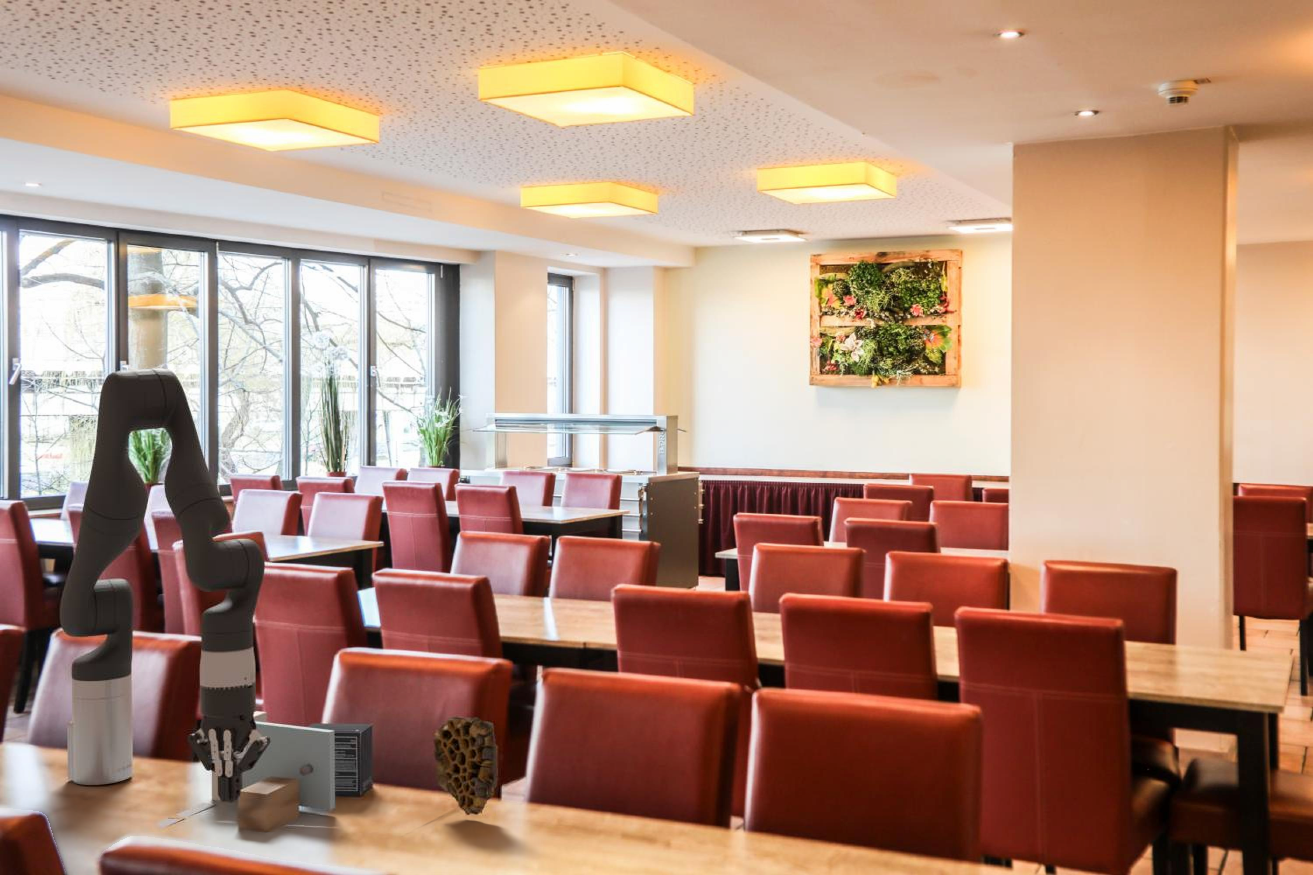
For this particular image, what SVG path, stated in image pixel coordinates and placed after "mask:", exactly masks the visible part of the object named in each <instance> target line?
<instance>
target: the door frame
mask: <svg viewBox="0 0 1313 875" xmlns="http://www.w3.org/2000/svg"><path fill="white" fill-rule="evenodd" d="M267 713H268V712H267V711H259V710H255V711H254V720H255V721H258V722H267V723H268V718H267V717H268V714H267ZM221 752H222V751H221ZM211 800H212V801H219V802H221V801H220V798H219V796H218V776H217V775H216V773H215V772H213V771H211ZM216 806H217V804H216V803H210V802H202V803H199V804H197V805H195V806H192V807H190V808H189V809H185V810H183V811H181V812H178V813H176V816H178V818H177V817H168V818H165V819H163V820H161V821H159V822H156V823H154V825H156V826H158V827H160V828H166V827H170V826H172V825H174V824H176V823H179V822H181V821H184V820H185V819H186V818H188V817H191V816H194V815H196V814H199V813H201V812H203V811H206V810H209V809H212V808H214V807H216ZM180 817H181V818H180Z"/></svg>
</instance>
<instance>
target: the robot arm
mask: <svg viewBox="0 0 1313 875" xmlns="http://www.w3.org/2000/svg"><path fill="white" fill-rule="evenodd" d="M97 411H98V412H97V414H98V415H97V423H96V435H95V436H96V437H95V445H94V446H95V447H94V452H93V459H92V464H91V470H90V475H89V478H88V485H87V488H86V492H85V496H84V501H83V505H82V512H81V518H80V525H79V531H78V537H77V541H76V547H75V549H74V550H75V552H74V555H73V559H72V562H71V566H70V569H69V572H68V575H67V578H66V580H65V584H64V588H63V591H62V596H61V599H60V606H59V619H60V620H59V621H60V622H59V623H60V626H61V629H62V630H63V632H64V633H65V635H67V636H69V637H71V638H88V637H96V636H97V637H98V636H106V638H105V640H104V641H103V642H102V643H101V644H100V645H99V646H98V647H96V648H95V649H93V650H91V651H89V652H87V653H85V654H84V655H81V656H79V657H77V658H76V659H74V660H73V662H72V663H71V720H72V721H69V722H68V723H67V727H66V730H67V731H66V732H67V733H66V734H67V780H69V781H73V783H75V784H78V785H84V786H99V785H107V784H113V783H117V782H122V781H124V780H127V779H129V778H131V777H132V776H133V773H134V772H133V770H134V769H133V766H134V765H133V691H132V690H133V688H132V687H133V686H132V685H133V680H132V679H133V678H132V677H133V676H132V675H133V673H132V669H133V668H132V662H133V649H134V648H133V639H134V638H133V637H134V619H135V600H134V593H133V588H132V586H131V584H130V583H129V581H128V580H127V579H124V578H107V579H100V577H101V575H102V574H103V573H104V571H106V569H107V568H108V567H109V566H110V565H111V564H112V563H113V562H114V561H115V560H117V558H119V557H120V556H121V555H122V554H124V552H125V551H126V550H127V549H128V548H129V547H130V546H132V544H133V543H134V541H136V539H137V538H138V536H139V535H140V533H141V531H142V529H143V525H144V521H145V516H146V513H147V508H148V503H149V492H148V489H147V488H148V487H147V485H146V483H145V481H144V479H143V478H142V476H141V473H139V471H138V469H137V468H136V466H135V465H134V463H133V462H132V461H131V459H130V456H129V454H128V447H127V446H128V442H129V441H128V440H129V437H130V435H131V433H132V432H136V431H137V432H138V431H145V430H147V431H148V430H155V429H156V430H157V429H164V430H165V431H166V432H167V434H168V437H169V438H170V441H171V451H170V457H169V461H168V464H167V467H166V472H165V476H164V483H163V484H164V485H163V486H164V487H163V489H164V494H165V499H166V502H167V504H168V506H169V508H170V510H171V513H172V514H173V516H174V518H175V521H176V523H177V525H178V527H179V529H180V533H181V540H182V546H183V551H184V560H185V570H186V574H187V577H188V579H189V581H190V582H191V584H193V585H194V587H196V588H197V589H199V590H200V591H203V592H210V593H211V592H217V591H226V590H227V592H226V595H225V598H224V600H223V601H222V602H220V603H219V604H216V605H214V606H212V607H210V608H207V609H205V610H204V611H203V613H202V614H201V618H200V619H201V620H200V632H201V633H200V637H201V638H200V639H201V641H200V642H201V646H200V647H201V653H200V661H199V662H200V663H199V693H200V694H199V699H200V700H199V702H200V705H199V710H200V713H201V715H202V720H201V722H200V728H199V729H198V730H197V731H196V732H194V733H192V734H189V735H187V742H188V744H189V745H190V747H191V748H192V750H193V752H194V753H195V754H196V756H197V758H198V760H199V761H200V762H201V764H202V766H203V768H204V769H205V770H206V771H209V772H212V771H213V772H215V773H216V775H217V776H218V796H219V798H220V801H219V802H221V803H229V804H230V803H234V802H236V801H238V797H239V796H240V794H241V773H243V772H245V771H247V770H250V769H252V768H253V767H254V765H255V764H256V762H257V761H258V760H259V758H260V757H261V755H262V754H263V752H264V751H265V749H266V748H267V746H268V745H269V744H270V738H269V737H268V736H265V737H263V736H262V735H261V734H260V733H259V732H258V731H257V730H256V728H257V725H256V722H255V720H254V712H256V709H257V695H256V694H257V692H256V691H257V690H256V688H257V687H256V684H257V683H256V659H255V653H254V616H255V615H254V614H255V611H256V609H257V608H256V607H257V603H258V599H259V595H260V591H261V588H262V584H263V580H264V577H265V576H264V575H265V568H266V566H265V563H266V562H265V557H264V553H263V550H262V549H261V547H260V546H259V545H258V544H257V542H255V541H254V540H252V539H249V538H235V539H224V540H215V539H214V538H216V537H218V536H219V535H221V534H222V533H224V532H225V531H226V530H227V528H228V527H229V525H230V522H231V517H230V512H229V510H228V507H227V505H226V504H225V501H224V500H223V497H222V496H221V493H220V491H219V489H218V487H217V485H216V483H215V482H214V479H213V477H212V475H211V473H210V472H211V471H210V470H209V467H208V464H207V462H206V460H205V455H204V453H203V450H202V446H201V442H200V439H199V435H198V431H197V427H196V425H195V421H194V419H193V415H192V412H191V409H190V405H189V402H188V399H187V396H186V393H185V389H184V388H183V385H182V384H181V381H180V379H179V378H178V376H177V375H176V374H175V373H174V372H173V371H172V370H170V369H167V368H157V367H156V368H145V369H143V368H142V369H126V370H125V369H124V370H123V369H122V370H118V371H114V372H111V373H109V374H108V375H107V376H106V377H105V379H104V381H103V384H102V386H101V391H100V395H99V404H98V410H97ZM249 741H250V742H249ZM248 742H249V744H248ZM247 744H248V747H249V749H248V750H247V752H246V745H247ZM221 751H222V752H221Z"/></svg>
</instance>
